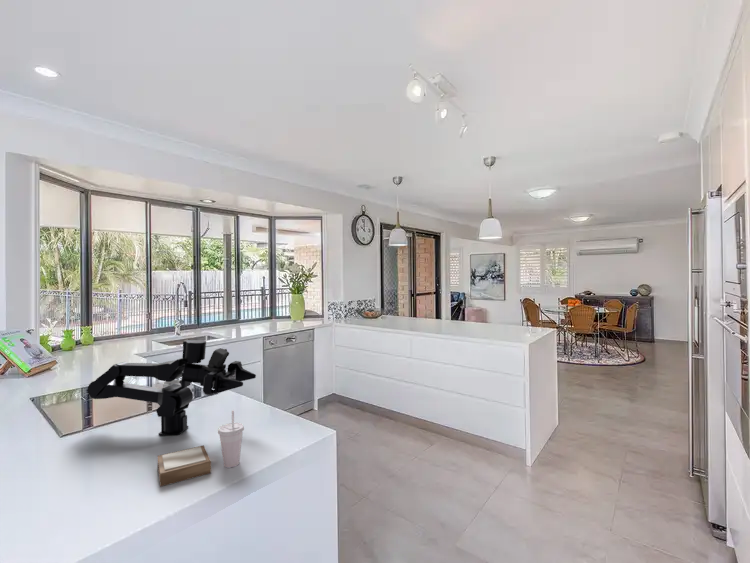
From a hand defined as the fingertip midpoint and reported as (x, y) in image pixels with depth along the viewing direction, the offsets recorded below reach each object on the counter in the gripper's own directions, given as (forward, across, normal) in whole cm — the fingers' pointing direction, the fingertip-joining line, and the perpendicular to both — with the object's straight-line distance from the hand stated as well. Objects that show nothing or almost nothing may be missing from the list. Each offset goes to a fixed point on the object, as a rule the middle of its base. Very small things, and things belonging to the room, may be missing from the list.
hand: (249, 380), depth 119 cm
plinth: (-5, -23, +18) cm, 30 cm away
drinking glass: (-38, +21, +21) cm, 48 cm away
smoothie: (+5, -19, +17) cm, 26 cm away
